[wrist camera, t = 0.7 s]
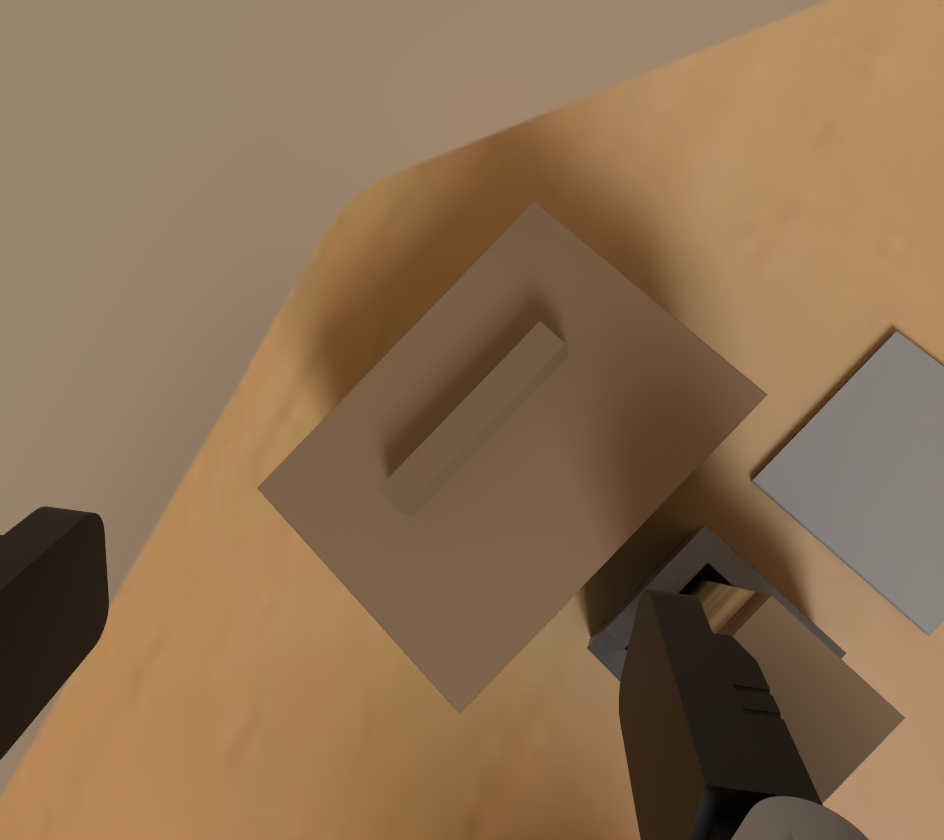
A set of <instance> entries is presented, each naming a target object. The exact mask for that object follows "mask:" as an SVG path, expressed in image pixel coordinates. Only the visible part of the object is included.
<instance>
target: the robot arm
mask: <svg viewBox="0 0 944 840" xmlns="http://www.w3.org/2000/svg"><path fill="white" fill-rule="evenodd" d="M108 598H109V597H108V581H107V565H106V549H105V533H104V525H103V522H102V519H101V518H100V516H99V515H98V514H95V513H90V512H83V511H75V510H68V509H60V508H53V507H41V508H39V509H37V510H35V511H34V512H33V513H31V514H30V515H29V516H27V517H26V518H25V519H24V520H22V521H21V522H20V523H18V524H17V525H16V526H15V527H13V528H12V529H11V530H10V531H8V532H7V533H6V534H4V535H0V760H1V759H2V758H3V756H4V755H5V754H6V753H7V751H8V750H9V749H10V748H11V747H12V746H13V744H14V743H15V742H16V741H17V739H18V738H19V737H20V736H21V735H22V733H23V732H24V731H25V730H26V729H27V727H28V726H29V725H30V724H31V723H32V721H33V720H34V719H35V718H36V717H37V715H38V714H39V713H40V712H41V710H42V709H43V708H44V707H45V706H46V705H47V703H48V702H49V701H50V700H51V698H52V697H53V696H54V695H55V694H56V692H57V691H58V690H59V689H60V688H61V686H62V685H63V684H64V683H65V682H66V680H67V679H68V678H69V677H70V676H71V674H72V673H73V672H74V671H75V670H76V668H77V667H78V666H79V665H80V663H81V662H82V661H83V660H84V659H85V657H86V656H87V655H88V654H89V653H90V651H91V650H92V649H93V648H94V646H95V645H96V644H97V642H98V640H99V639H100V637H101V634H102V632H103V630H104V627H105V624H106V620H107V616H108V609H109V599H108ZM619 716H620V723H621V729H622V735H623V741H624V746H625V752H626V758H627V764H628V769H629V775H630V781H631V787H632V792H633V798H634V804H635V810H636V815H637V821H638V827H639V832H640V838H641V840H869V839H868V838H867V837H866V836H865V835H864V834H863V833H862V832H861V831H860V830H859V829H857V828H856V827H855V826H854V825H852V824H851V823H850V822H849V821H847V820H846V819H844V818H843V817H841V816H840V815H838V814H837V813H835V812H833V811H832V810H830V809H828V808H826V807H824V806H823V805H822V802H821V800H820V798H819V796H818V794H817V791H816V789H815V787H814V785H813V783H812V780H811V778H810V776H809V774H808V772H807V769H806V767H805V765H804V763H803V761H802V758H801V756H800V754H799V752H798V750H797V747H796V745H795V743H794V741H793V739H792V736H791V734H790V732H789V730H788V728H787V725H786V723H785V721H784V719H781V712H780V710H779V708H778V706H777V704H776V701H775V699H774V697H773V695H770V688H769V686H768V684H767V682H766V679H765V677H764V675H763V673H762V671H761V668H760V666H759V664H758V662H757V661H756V660H755V659H754V658H753V657H752V656H751V655H750V654H749V653H748V652H747V651H746V650H745V649H744V648H743V646H742V645H741V644H740V643H739V642H738V641H737V640H736V639H735V638H734V637H733V636H729V635H722V634H715V633H713V632H712V630H711V627H710V625H709V622H708V620H707V617H706V615H705V612H704V609H703V607H702V604H701V602H700V600H699V598H698V597H697V596H694V595H686V594H679V593H672V592H664V591H657V590H649V589H645V590H644V591H643V593H642V595H641V597H640V600H639V604H638V608H637V612H636V616H635V620H634V624H633V629H632V633H631V637H630V641H629V646H628V650H627V654H626V658H625V663H624V667H623V671H622V676H621V682H620V691H619Z"/></svg>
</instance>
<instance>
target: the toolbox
mask: <svg viewBox="0 0 944 840" xmlns="http://www.w3.org/2000/svg"><path fill="white" fill-rule="evenodd" d="M766 396H767V394H766V393H765V392H764V391H762V390H761V389H760V388H759V387H758V386H756V385H755V384H754V383H753V382H752V381H750V380H749V379H748V378H747V377H746V376H744V375H743V374H742V373H741V372H739V371H738V370H737V369H736V368H735V367H733V366H732V365H731V364H730V363H729V362H727V361H726V360H725V359H724V358H723V357H721V356H720V355H719V354H718V353H717V352H715V351H714V350H713V349H712V348H711V347H709V346H708V345H707V344H706V343H705V342H703V341H702V340H701V339H700V338H699V337H697V336H696V335H695V334H694V333H693V332H691V331H690V330H689V329H688V328H687V327H685V326H684V325H683V324H682V323H681V322H679V321H678V320H677V319H676V318H675V317H673V316H672V315H671V314H670V313H669V312H667V311H666V310H665V309H664V308H663V307H661V306H660V305H659V304H658V303H657V302H655V301H654V300H653V299H652V298H650V297H649V296H648V295H647V294H646V293H644V292H643V291H642V290H641V289H640V288H638V287H637V286H636V285H635V284H634V283H632V282H631V281H630V280H629V279H628V278H626V277H625V276H624V275H623V274H622V273H620V272H619V271H618V270H617V269H616V268H614V267H613V266H612V265H611V264H610V263H608V262H607V261H606V260H605V259H604V258H602V257H601V256H600V255H599V254H598V253H596V252H595V251H594V250H593V249H592V248H590V247H589V246H588V245H587V244H586V243H584V242H583V241H582V240H581V239H580V238H578V237H577V236H576V235H575V234H574V233H572V232H571V231H570V230H569V229H568V228H566V227H565V226H564V225H563V224H561V223H560V222H559V221H558V220H557V219H555V218H554V217H553V216H552V215H551V214H549V213H548V212H547V211H546V210H545V209H543V208H542V207H541V206H540V205H539V204H537V203H536V202H535V201H534V202H533V203H532V204H531V205H530V206H529V207H528V208H527V209H526V210H525V211H524V212H523V213H522V214H521V215H520V216H519V217H518V218H517V219H516V220H515V221H514V222H513V223H512V224H511V225H510V226H509V228H508V229H507V230H506V231H505V232H504V233H503V234H502V235H501V236H500V237H499V238H498V239H497V240H496V241H495V242H494V243H493V244H492V245H491V246H490V247H489V248H488V249H487V250H486V251H485V252H484V253H483V254H482V255H481V257H480V258H479V259H478V260H477V261H476V262H475V263H474V264H473V265H472V266H471V267H470V268H469V269H468V270H467V271H466V272H465V273H464V274H463V275H462V276H461V277H460V278H459V279H458V280H457V281H456V282H455V283H454V285H453V286H452V287H451V288H450V289H449V290H448V291H447V292H446V293H445V294H444V295H443V296H442V297H441V298H440V299H439V300H438V301H437V302H436V303H435V304H434V305H433V306H432V307H431V308H430V309H429V310H428V311H427V312H426V314H425V315H424V316H423V317H422V318H421V319H420V320H419V321H418V322H417V323H416V324H415V325H414V326H413V327H412V328H411V329H410V330H409V331H408V332H407V333H406V334H405V335H404V336H403V337H402V338H401V339H400V340H399V341H398V343H397V344H396V345H395V346H394V347H393V348H392V349H391V350H390V351H389V352H388V353H387V354H386V355H385V356H384V357H383V358H382V359H381V360H380V361H379V362H378V363H377V364H376V365H375V366H374V367H373V368H372V369H371V371H370V372H369V373H368V374H367V375H366V376H365V377H364V378H363V379H362V380H361V381H360V382H359V383H358V384H357V385H356V386H355V387H354V388H353V389H352V390H351V391H350V392H349V393H348V394H347V395H346V396H345V397H344V398H343V400H342V401H341V402H340V403H339V404H338V405H337V406H336V407H335V408H334V409H333V410H332V411H331V412H330V413H329V414H328V415H327V416H326V417H325V418H324V419H323V420H322V421H321V422H320V423H319V424H318V425H317V426H316V427H315V429H314V430H313V431H312V432H311V433H310V434H309V435H308V436H307V437H306V438H305V439H304V440H303V441H302V442H301V443H300V444H299V445H298V446H297V447H296V448H295V449H294V450H293V451H292V452H291V453H290V454H289V455H288V457H287V458H286V459H285V460H284V461H283V462H282V463H281V464H280V465H279V466H278V467H277V468H276V469H275V470H274V471H273V472H272V473H271V474H270V475H269V476H268V477H267V478H266V479H265V480H264V481H263V482H262V483H261V484H260V486H259V487H258V488H257V489H258V490H259V491H260V492H261V493H262V494H263V495H264V496H265V497H266V499H267V500H268V501H269V502H270V503H271V504H272V505H273V506H274V507H275V509H276V510H277V511H278V512H279V513H280V514H281V515H282V516H283V518H284V519H285V520H286V521H287V522H288V523H289V524H290V525H291V526H292V528H293V529H294V530H295V531H296V532H297V533H298V534H299V535H300V536H301V538H302V539H303V540H304V541H305V542H306V543H307V544H308V545H309V547H310V548H311V549H312V550H313V551H314V552H315V553H316V554H317V555H318V557H319V558H320V559H321V560H322V561H323V562H324V563H325V564H326V566H327V567H328V568H329V569H330V570H331V571H332V572H333V573H334V574H335V576H336V577H337V578H338V579H339V580H340V581H341V582H342V583H343V584H344V586H345V587H346V588H347V589H348V590H349V591H350V592H351V593H352V595H353V596H354V597H355V598H356V599H357V600H358V601H359V602H360V603H361V605H362V606H363V607H364V608H365V609H366V610H367V611H368V612H369V613H370V615H371V616H372V617H373V618H374V619H375V620H376V621H377V622H378V624H379V625H380V626H381V627H382V628H383V629H384V630H385V631H386V632H387V634H388V635H389V636H390V637H391V638H392V639H393V640H394V641H395V643H396V644H397V645H398V646H399V647H400V648H401V649H402V650H403V651H404V653H405V654H406V655H407V656H408V657H409V658H410V659H411V660H412V661H413V663H414V664H415V665H416V666H417V667H418V668H419V669H420V670H421V672H422V673H423V674H424V675H425V676H426V677H427V678H428V679H429V680H430V682H431V683H432V684H433V685H434V686H435V687H436V688H437V689H438V690H439V692H440V693H441V694H442V695H443V696H444V697H445V698H446V699H447V701H448V702H449V703H450V704H451V705H452V706H453V707H454V708H455V709H456V711H457V712H458V713H459V714H460V713H461V712H462V711H463V710H464V709H465V708H466V707H467V706H468V705H469V704H470V703H471V702H472V701H473V700H474V699H475V698H476V696H477V695H478V694H479V693H480V692H481V691H482V690H483V689H484V688H485V687H486V686H487V685H488V684H489V683H490V682H491V681H492V680H493V679H494V678H495V677H496V676H497V675H498V674H499V673H500V672H501V671H502V670H503V668H504V667H505V666H506V665H507V664H508V663H509V662H510V661H511V660H512V659H513V658H514V657H515V656H516V655H517V654H518V653H519V652H520V651H521V650H522V649H523V648H524V647H525V646H526V645H527V644H528V643H529V642H530V640H531V639H532V638H533V637H534V636H535V635H536V634H537V633H538V632H539V631H540V630H541V629H542V628H543V627H544V626H545V625H546V624H547V623H548V622H549V621H550V620H551V619H552V618H553V617H554V616H555V615H556V614H557V612H558V611H559V610H560V609H561V608H562V607H563V606H564V605H565V604H566V603H567V602H568V601H569V600H570V599H571V598H572V597H573V596H574V595H575V594H576V593H577V592H578V591H579V590H580V589H581V588H582V587H583V586H584V585H585V583H586V582H587V581H588V580H589V579H590V578H591V577H592V576H593V575H594V574H595V573H596V572H597V571H598V570H599V569H600V568H601V567H602V566H603V565H604V564H605V563H606V562H607V561H608V560H609V559H610V558H611V557H612V555H613V554H614V553H615V552H616V551H617V550H618V549H619V548H620V547H621V546H622V545H623V544H624V543H625V542H626V541H627V540H628V539H629V538H630V537H631V536H632V535H633V534H634V533H635V532H636V531H637V530H638V529H639V527H640V526H641V525H642V524H643V523H644V522H645V521H646V520H647V519H648V518H649V517H650V516H651V515H652V514H653V513H654V512H655V511H656V510H657V509H658V508H659V507H660V506H661V505H662V504H663V503H664V502H665V501H666V499H667V498H668V497H669V496H670V495H671V494H672V493H673V492H674V491H675V490H676V489H677V488H678V487H679V486H680V485H681V484H682V483H683V482H684V481H685V480H686V479H687V478H688V477H689V476H690V475H691V474H692V473H693V472H694V470H695V469H696V468H697V467H698V466H699V465H700V464H701V463H702V462H703V461H704V460H705V459H706V458H707V457H708V456H709V455H710V454H711V453H712V452H713V451H714V450H715V449H716V448H717V447H718V446H719V445H720V444H721V442H722V441H723V440H724V439H725V438H726V437H727V436H728V435H729V434H730V433H731V432H732V431H733V430H734V429H735V428H736V427H737V426H738V425H739V424H740V423H741V422H742V421H743V420H744V419H745V418H746V417H747V416H748V414H749V413H750V412H751V411H752V410H753V409H754V408H755V407H756V406H757V405H758V404H759V403H760V402H761V401H762V400H763V399H764V398H765V397H766Z"/></svg>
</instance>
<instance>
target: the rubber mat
mask: <svg viewBox="0 0 944 840" xmlns="http://www.w3.org/2000/svg"><path fill="white" fill-rule="evenodd" d="M752 482H753V483H754V484H755V485H756V486H757V487H759V488H760V489H761V490H762V491H763V492H764V493H765V494H767V495H768V496H769V497H770V498H771V499H772V500H773V501H775V502H776V503H777V504H778V505H779V506H780V507H781V508H783V509H784V510H785V511H786V512H787V513H788V514H789V515H791V516H792V517H793V518H794V519H795V520H796V521H798V522H799V523H800V524H801V525H802V526H803V527H804V528H806V529H807V530H808V531H809V532H810V533H811V534H812V535H814V536H815V537H816V538H817V539H818V540H819V541H820V542H822V543H823V544H824V545H825V546H826V547H827V548H828V549H830V550H831V551H832V552H833V553H834V554H835V555H836V556H838V557H839V558H840V559H841V560H842V561H843V562H844V563H846V564H847V565H848V566H849V567H850V568H851V569H852V570H854V571H855V572H856V573H857V574H858V575H859V576H860V577H862V578H863V579H864V580H865V581H866V582H867V583H868V584H870V585H871V586H872V587H873V588H874V589H875V590H876V591H878V592H879V593H880V594H881V595H882V596H883V597H884V598H886V599H887V600H888V601H889V602H890V603H891V604H892V605H894V606H895V607H896V608H897V609H898V610H899V611H900V612H902V613H903V614H904V615H905V616H906V617H907V618H908V619H910V620H911V621H912V622H913V623H914V624H915V625H916V626H918V627H919V628H920V629H921V630H922V631H923V632H924V633H926V634H927V635H930V634H931V633H932V632H933V631H934V630H935V629H936V628H937V627H938V626H939V625H940V624H941V623H942V622H943V621H944V366H942V365H941V364H940V363H938V362H937V361H936V360H934V359H933V358H932V357H931V356H929V355H928V354H927V353H925V352H924V351H923V350H921V349H920V348H919V347H917V346H916V345H915V344H913V343H912V342H911V341H910V340H908V339H907V338H906V337H904V336H903V335H902V334H900V333H899V332H898V331H896V332H895V333H894V334H893V335H892V336H891V337H890V338H889V339H888V340H887V341H886V342H885V343H884V344H883V345H882V346H881V347H880V348H879V349H878V350H877V351H876V353H875V354H874V355H873V356H872V357H871V358H870V359H869V360H868V361H867V362H866V363H865V364H864V365H863V366H862V367H861V368H860V369H859V370H858V371H857V372H856V373H855V374H854V375H853V376H852V377H851V378H850V379H849V381H848V382H847V383H846V384H845V385H844V386H843V387H842V388H841V389H840V390H839V391H838V392H837V393H836V394H835V395H834V396H833V397H832V398H831V399H830V400H829V401H828V402H827V403H826V404H825V405H824V406H823V407H822V408H821V410H820V411H819V412H818V413H817V414H816V415H815V416H814V417H813V418H812V419H811V420H810V421H809V422H808V423H807V424H806V425H805V426H804V427H803V428H802V429H801V430H800V431H799V432H798V433H797V434H796V435H795V436H794V438H793V439H792V440H791V441H790V442H789V443H788V444H787V445H786V446H785V447H784V448H783V449H782V450H781V451H780V452H779V453H778V454H777V455H776V456H775V457H774V458H773V459H772V460H771V461H770V462H769V463H768V464H767V466H766V467H765V468H764V469H763V470H762V471H761V472H760V473H759V474H758V475H757V476H756V477H755V478H754V479H753V480H752Z"/></svg>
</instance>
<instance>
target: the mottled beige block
mask: <svg viewBox="0 0 944 840" xmlns="http://www.w3.org/2000/svg"><path fill="white" fill-rule="evenodd" d="M683 594H686V595H694V596H697V597H698V598H699V600H700V602H701V604H702V607H703V609H704V612H705V615H706V617H707V620H708V622H709V625H710V627H711V630H712V632H713V633H715V634H722V635H729V636H733V637H734V638H735V639H736V640H737V641H738V642H739V643H740V644H741V645H742V646H743V648H744V649H745V650H746V651H747V652H748V653H749V654H750V655H751V656H752V657H753V658H754V659H755V660H756V661H757V662H758V664H759V666H760V668H761V671H762V673H763V675H764V677H765V679H766V682H767V684H768V686H769V688H770V695H773V697H774V699H775V701H776V704H777V706H778V708H779V710H780V712H781V719H784V721H785V723H786V725H787V728H788V730H789V732H790V734H791V736H792V739H793V741H794V743H795V745H796V747H797V750H798V752H799V754H800V756H801V758H802V761H803V763H804V765H805V767H806V769H807V772H808V774H809V776H810V778H811V780H812V783H813V785H814V787H815V789H816V791H817V794H818V796H819V798H820V800H821V802H822V804H823V802H824V801H825V800H826V799H827V798H828V797H829V796H830V795H831V794H832V793H833V792H834V791H835V790H836V789H837V788H838V787H839V786H840V785H841V784H842V783H843V782H844V781H845V780H846V779H847V778H848V777H849V776H850V774H851V773H852V772H853V771H854V770H855V769H856V768H857V767H858V766H859V765H860V764H861V763H862V762H863V761H864V760H865V759H866V758H867V757H868V756H869V755H870V754H871V753H872V752H873V751H874V750H875V749H876V748H877V746H878V745H879V744H880V743H881V742H882V741H883V740H884V739H885V738H886V737H887V736H888V735H889V734H890V733H891V732H892V731H893V730H894V729H895V728H896V727H897V726H898V725H899V724H900V723H901V722H902V721H903V720H904V718H905V717H904V716H903V715H901V714H900V713H899V712H898V711H897V710H896V709H895V708H894V707H893V706H892V705H891V704H889V703H888V702H887V701H886V700H885V699H884V698H883V697H882V696H881V695H880V694H879V693H877V692H876V691H875V690H874V689H873V688H872V687H871V686H870V685H869V684H868V683H867V682H865V681H864V680H863V679H862V678H861V677H860V676H859V675H858V674H857V673H856V672H855V671H853V670H852V669H851V668H850V667H849V666H848V665H847V664H846V663H845V662H844V661H843V660H841V659H840V658H839V657H838V656H837V655H836V654H835V653H834V652H833V651H832V650H831V649H829V648H828V647H827V646H826V645H825V644H824V643H823V642H822V641H821V640H820V639H819V638H817V637H816V636H815V635H814V634H813V633H812V632H811V631H810V630H809V629H808V628H806V627H805V626H804V625H803V624H802V623H801V622H800V621H799V620H798V619H797V618H796V617H794V616H793V615H792V614H791V613H790V612H789V611H788V610H787V609H786V608H785V607H784V606H782V605H781V604H780V603H779V602H778V601H777V600H776V599H775V598H774V597H773V596H772V595H767V594H763V593H758V592H754V591H750V590H745V589H741V588H737V587H732V586H728V585H724V584H719V583H715V582H711V581H706V580H702V579H697V580H696V581H695V582H694V583H693V584H692V585H691V586H690V587H689V588H688V589H687V590H686V591H685V592H684V593H683Z"/></svg>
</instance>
